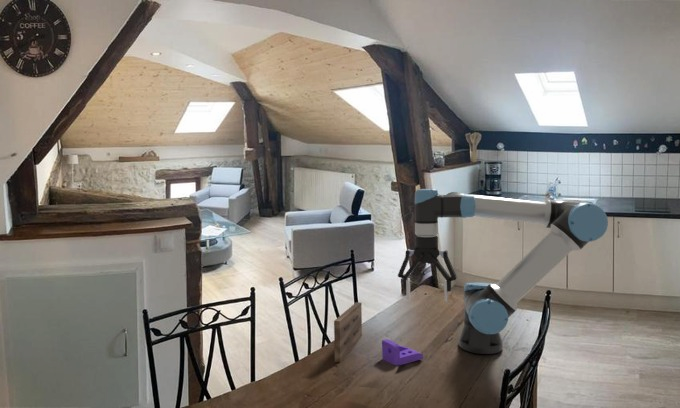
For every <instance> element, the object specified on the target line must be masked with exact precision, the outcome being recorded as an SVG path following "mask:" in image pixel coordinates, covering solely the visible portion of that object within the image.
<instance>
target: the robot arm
mask: <svg viewBox="0 0 680 408" xmlns="http://www.w3.org/2000/svg"><path fill="white" fill-rule="evenodd" d="M473 217H477V218H478V217H479V218H487V219H496V220H504V221H512V222H521V223H529V224H530V223H531V224H538V225H539V224H540V225H541V226H542V227H543V228H548V229H550V232H548V233H547V235H545V236H544V238H543V239H541V240H540V242H538V243H537V244H536V245H535V246H534V247H533V248H532V249H531V250H530V251H529V252H528V253H527V254H525V256H524V257H523V258H521V260H519V261H518V263H516V264H515V265H514V266H513V267H511V269H510V270H509V271H508V272H507V273H506V274H505V275H504V276H503V277H502V278H501V279H500V280H499V281H498V282H497V283H491V282H466V283H465V284H464V285H463V292H462V293H463V325H462V328H461V331H460V335H459V338H458V346H459V347H460V349H462V350H463V351H466V352H469V353H473V354H474V353H475V354H482V355H491V354H496V353H500V352H501V351H502V350H503V348H504V346H503V345H504V343H503V339H502V337H501V333H500V332H502V331H503V330H504V329H505V328H506V327H507V324H508V322H509V318H510V317H511V316H512V315H513V314H514V313H515V312H516V311H517V310H518V309H517V307H518V306H517V304H518V303H519V302H520V301H521V300H522V298H524V297H525V296H526V295H527V294H528V293H529V292H530V291H531V290H532V289H533V288H534V287H535V286H536V285H538V284H539V282H541V281H542V280H543V279H544V278H545V277H546V276H547V275H548V274H549V273H551V271H552V270H554V268H556V266H558V265H559V264H560V263H561V262H562V261H563V260H564V259H565V258H566V257H567V256H568V255H569V254H570V253H572V252H573V251H580V250H582V249H583V248H584V247H585V246H586V245H588V244H589V242H595V241H597V240H599V239H601V238H602V237H603V236H604V235H605V233H606V232H607V230H608V225H609V220H608V216H607V214H606V212H605V211H604V209H603V208H602V207H601V206H599V205H598V204H596V203H594V202H590V201H582V200H578V199H577V200H576V199H569V200H568V199H566V200H554V199H553V200H552V199H546V200H544V201H543V202H542V201H535V200H528V199H527V200H525V199H515V198H508V197H507V198H505V197H500V196H499V197H497V196H491V195H490V196H489V195H480V194H472V193H471V194H468V193H462V192H461V193H460V192H457V191H451V192H448V193H447V194H439V192H438V189H436V188H419V189H417V190H415V193H414V234H415V235H416V236H415V237H414V250H413V249H410V248H408V249H406V250H405V256H404V259H403V261H402V263H401V266H400V269H399V271H398V273H397V277H398V278H401V279H402V282H403V283H402V284H403V285H402V286H403V289H405V290H406V291H405V292H406V293H405V294H406V297H405V298H406V300H409V299H410V298H411V278H410V277H409V276H410V275H411V274H412V272H413V271H414V270H415V269H416V267H417V266H418V265H419V263H421V264H429V265H430V264H433V265H434V266H435V267H436V269H437V270H438V271H439V273H440V274H441V275H442V277H443V278H444V279H445V281H444V283H443V286H444V287H443V288H444V290H443V293H444V294H443V295H444V298H443V299H444V302H446V303H447V302H448V301H449V292H451V291H452V281H453V282H454V281H456V280H457V278H458V276H457V273H456V271H455V269H454V268H453V264H452V262H451V260H450V258H449V252H448V251H449V250H444V251H443V250H442V251H440V250H439V237H438V235H439V221H438V220H439V218H464V219H465V218H473ZM413 255H414V256H415V258H416V259H415V260H414V261H413V262H414V263H413V264H411V266H410V268H408V270H407V271H406V273H405V270H406V267H407V266H408V263H409V260H410V259H411V257H412V256H413ZM439 256H441V258H442V259H443V261H444V263H445V266H446V268H447V270H446V269H445V268H444V266H443V264H442V263H441V261H439V259H438V257H439ZM447 271H448V272H449V273H448V272H447Z"/></svg>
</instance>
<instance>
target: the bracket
mask: <svg viewBox="0 0 680 408" xmlns="http://www.w3.org/2000/svg"><path fill="white" fill-rule="evenodd" d="M381 340H382V341H381V348H382V349H381V354H382V355H381V357H382V360H384V361H385V362H387V363H389V364H392V365H394V366H402V365H405V364H409V363H412V362H416V361H420V360H423V359H424V354H423V353H421V352H419V351H417V350H415V349H413V348H410V347H408V346H407V347H406V346H402V345H399V344H398V343H396V342H395V341H392V340H390V339H388V338H386V339H381Z"/></svg>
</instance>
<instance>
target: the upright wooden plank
mask: <svg viewBox="0 0 680 408" xmlns="http://www.w3.org/2000/svg"><path fill="white" fill-rule="evenodd" d="M362 315H363V314H362V302H357V301H356V302H354V304H352V305H351V306H350V307H349V308H348V309H346V310H345V311H344V312H342V314H340V315H339V316H338V317H337V318H335V319H334V320H333V324H334V325H333V333H334V338H333V339H334V341H333V342H334V343H333V344H334V362H335V363H341V362H342V361H343V360H344V359H346V357H347V356H348V355H349V354H350V352H352V350H353V349H354V347H355V346H356V345H357V344H358V342H359V341H360V339H361V337H362V336H363V328H362V327H363V325H362V324H363V321H362V320H363V318H362Z"/></svg>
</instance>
